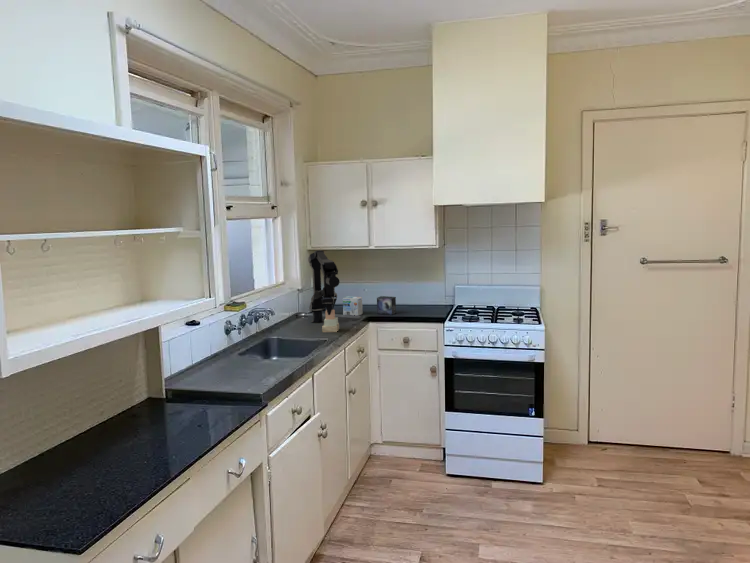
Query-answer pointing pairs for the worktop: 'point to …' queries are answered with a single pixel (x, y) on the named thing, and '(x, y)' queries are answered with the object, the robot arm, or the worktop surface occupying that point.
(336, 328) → the tower base
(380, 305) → the small box
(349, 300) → the light bulb box
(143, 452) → the worktop surface
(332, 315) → the terracotta cube
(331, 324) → the tower top
